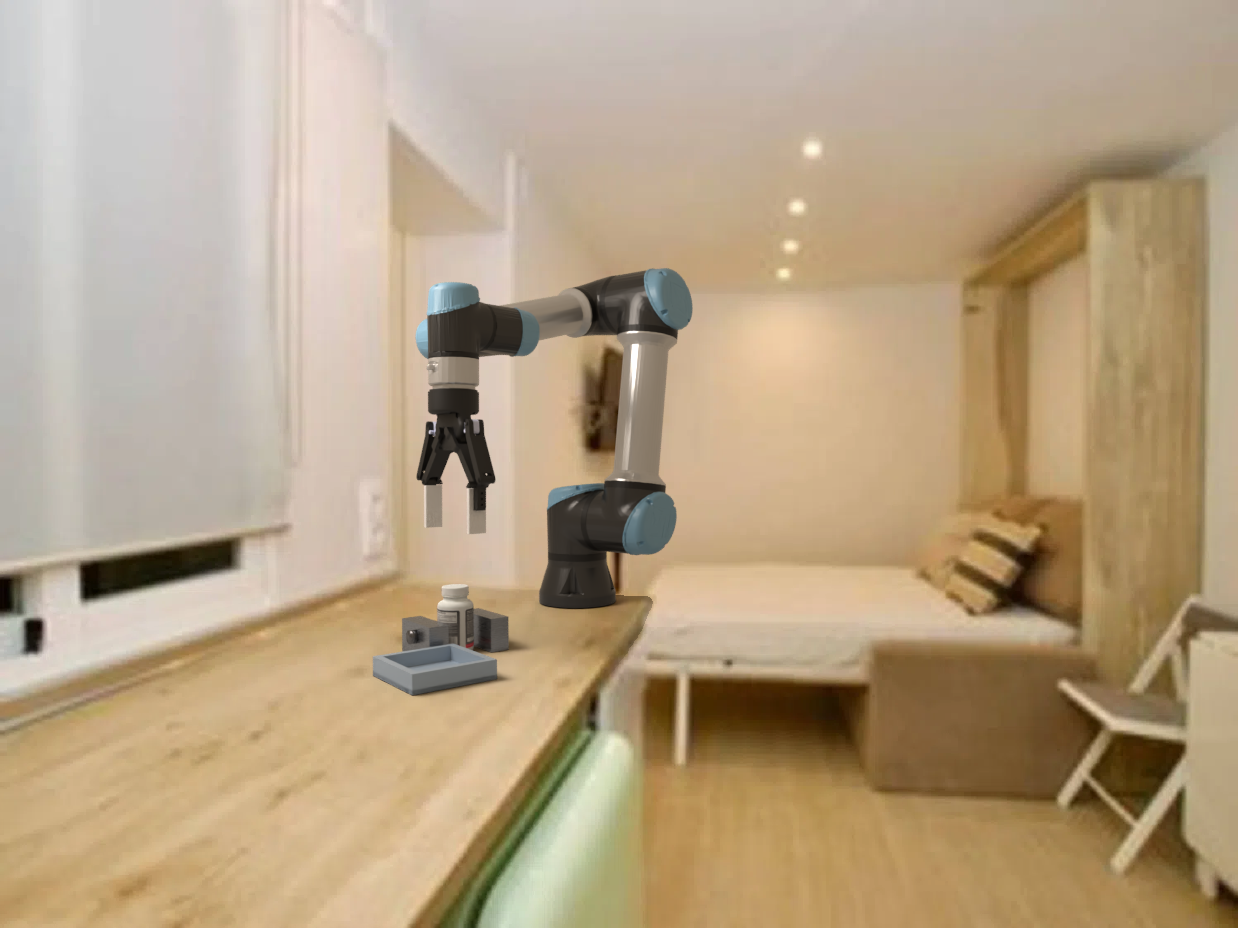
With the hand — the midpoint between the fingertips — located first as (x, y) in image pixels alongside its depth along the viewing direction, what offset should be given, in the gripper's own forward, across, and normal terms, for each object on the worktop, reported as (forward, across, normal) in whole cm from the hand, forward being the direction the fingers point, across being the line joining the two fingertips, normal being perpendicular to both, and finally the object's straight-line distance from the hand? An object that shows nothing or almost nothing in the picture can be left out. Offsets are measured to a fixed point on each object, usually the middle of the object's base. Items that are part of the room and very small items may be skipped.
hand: (453, 530), depth 130 cm
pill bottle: (+18, 0, 0) cm, 18 cm away
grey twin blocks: (+18, 0, 0) cm, 18 cm away
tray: (+18, +12, -9) cm, 24 cm away
